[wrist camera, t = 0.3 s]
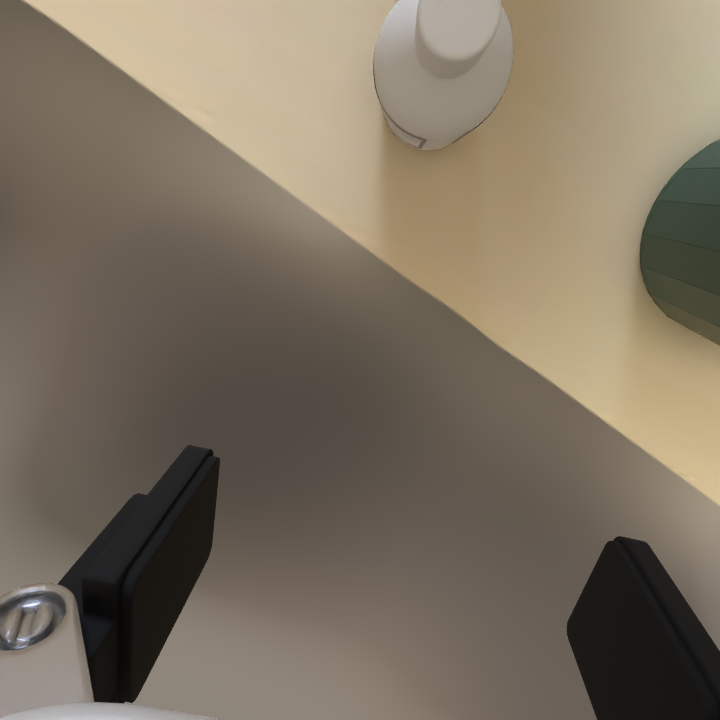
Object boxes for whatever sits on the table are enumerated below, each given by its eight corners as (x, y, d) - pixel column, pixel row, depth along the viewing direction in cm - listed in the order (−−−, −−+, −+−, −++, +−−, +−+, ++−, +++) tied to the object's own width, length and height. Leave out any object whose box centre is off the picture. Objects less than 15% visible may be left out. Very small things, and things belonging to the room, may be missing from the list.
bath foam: (476, 36, 33) (569, -142, 15) (479, 144, 36) (561, 110, 17) (377, 51, 34) (347, -99, 15) (387, 156, 36) (370, 135, 18)
